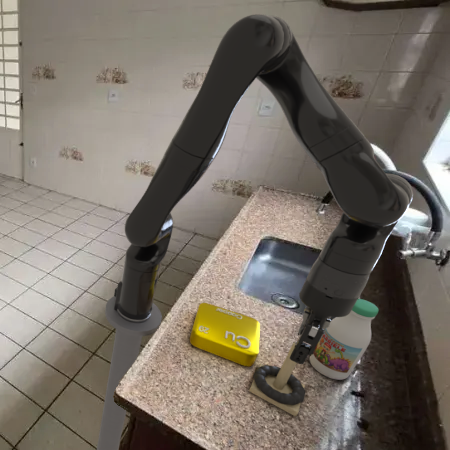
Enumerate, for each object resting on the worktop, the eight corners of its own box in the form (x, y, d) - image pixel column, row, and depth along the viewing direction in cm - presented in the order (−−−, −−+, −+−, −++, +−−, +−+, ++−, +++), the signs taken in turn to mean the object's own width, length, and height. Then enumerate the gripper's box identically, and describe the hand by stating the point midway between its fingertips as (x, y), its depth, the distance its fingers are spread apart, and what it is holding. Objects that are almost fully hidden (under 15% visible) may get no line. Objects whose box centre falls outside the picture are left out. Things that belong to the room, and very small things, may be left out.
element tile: (255, 331, 96) (261, 318, 94) (253, 370, 85) (259, 356, 83) (197, 311, 103) (200, 298, 101) (187, 344, 92) (191, 331, 90)
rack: (248, 391, 80) (269, 346, 73) (258, 367, 86) (278, 323, 79) (295, 416, 75) (323, 370, 68) (302, 389, 80) (328, 344, 73)
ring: (248, 389, 79) (250, 382, 78) (257, 362, 85) (260, 356, 84) (299, 415, 73) (303, 409, 72) (305, 385, 80) (309, 379, 78)
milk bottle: (320, 351, 90) (355, 289, 81) (355, 374, 84) (397, 311, 74) (301, 360, 88) (334, 298, 78) (335, 385, 81) (376, 321, 72)
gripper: (313, 259, 69) (284, 320, 77) (301, 293, 60) (270, 359, 68) (363, 274, 65) (327, 338, 72) (358, 314, 55) (318, 382, 63)
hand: (299, 348), depth 70 cm, fingers open, 8 cm apart
